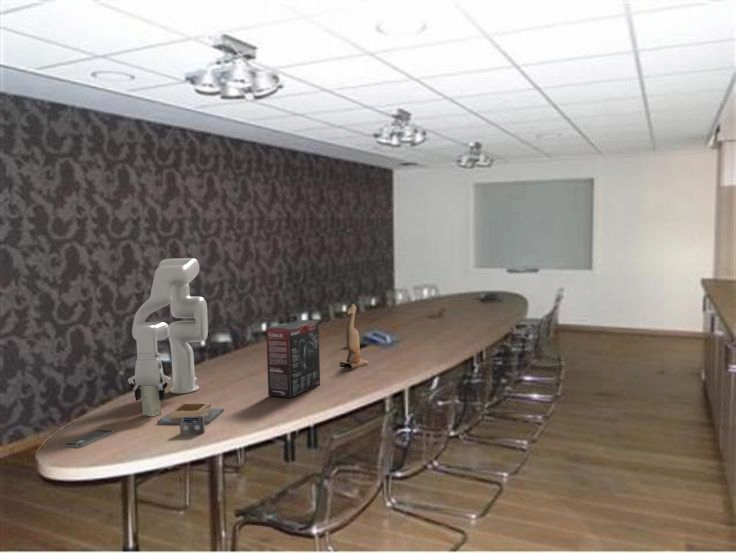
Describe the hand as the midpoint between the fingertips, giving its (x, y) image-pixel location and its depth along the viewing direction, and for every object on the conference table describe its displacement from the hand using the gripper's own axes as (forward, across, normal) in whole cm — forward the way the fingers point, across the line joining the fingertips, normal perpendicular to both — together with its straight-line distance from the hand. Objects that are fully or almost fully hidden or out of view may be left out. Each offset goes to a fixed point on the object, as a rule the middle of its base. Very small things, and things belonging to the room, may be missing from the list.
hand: (150, 399), depth 240 cm
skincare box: (+6, 0, -1) cm, 6 cm away
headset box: (+6, -50, -35) cm, 61 cm away
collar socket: (+6, -18, +3) cm, 19 cm away
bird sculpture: (+5, -69, -84) cm, 108 cm away
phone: (+7, +9, +28) cm, 30 cm away
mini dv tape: (+7, -26, +21) cm, 34 cm away
